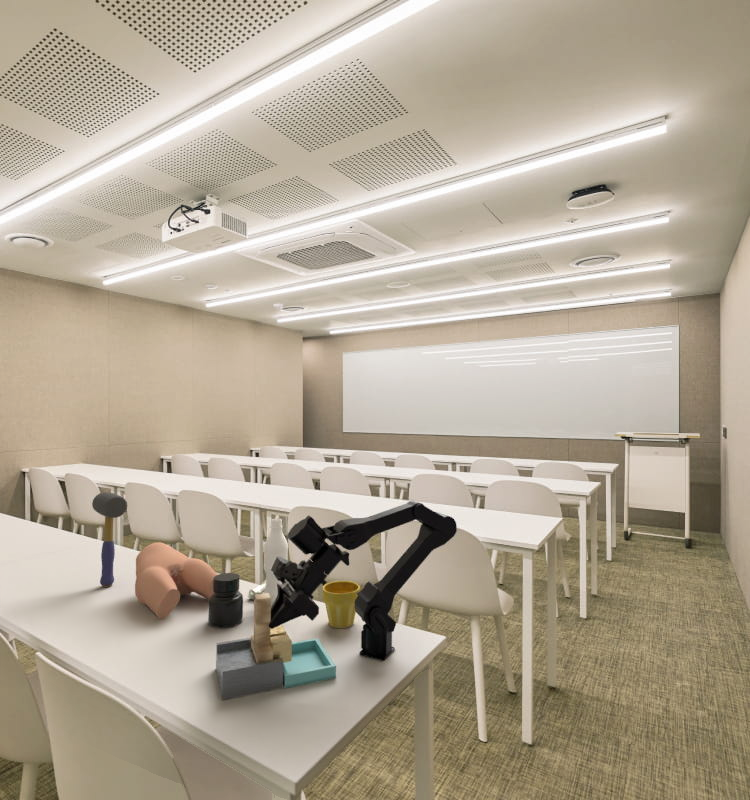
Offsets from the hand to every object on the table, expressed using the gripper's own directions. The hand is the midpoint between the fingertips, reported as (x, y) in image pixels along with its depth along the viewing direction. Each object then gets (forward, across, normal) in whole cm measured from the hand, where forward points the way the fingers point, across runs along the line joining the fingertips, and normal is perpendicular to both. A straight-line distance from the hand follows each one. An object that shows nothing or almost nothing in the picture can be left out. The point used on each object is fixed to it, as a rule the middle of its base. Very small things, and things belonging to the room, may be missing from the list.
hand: (268, 624), depth 105 cm
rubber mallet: (+34, -73, -19) cm, 83 cm away
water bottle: (+1, -38, +14) cm, 41 cm away
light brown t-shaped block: (+6, 0, +4) cm, 7 cm away
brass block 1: (+3, -2, +6) cm, 7 cm away
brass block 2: (+3, +2, +6) cm, 7 cm away
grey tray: (+10, 0, +5) cm, 11 cm away
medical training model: (+21, -52, -6) cm, 57 cm away
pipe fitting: (+3, -46, +12) cm, 48 cm away
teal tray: (+2, 0, +13) cm, 13 cm away
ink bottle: (+12, -31, +4) cm, 33 cm away
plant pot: (-9, -19, +24) cm, 32 cm away
